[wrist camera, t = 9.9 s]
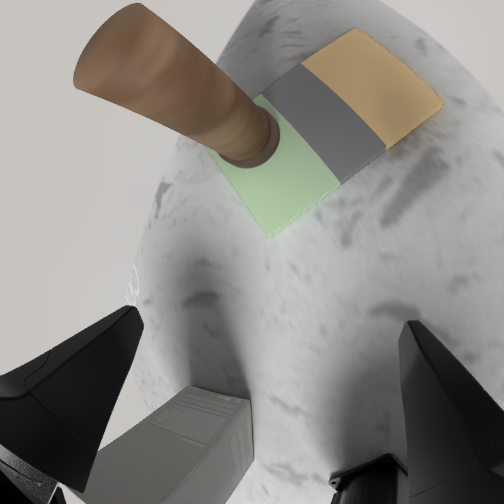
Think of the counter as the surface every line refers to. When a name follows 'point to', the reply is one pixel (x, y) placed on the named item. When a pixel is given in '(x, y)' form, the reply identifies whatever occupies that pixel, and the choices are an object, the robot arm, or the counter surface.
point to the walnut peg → (174, 86)
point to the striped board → (329, 126)
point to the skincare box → (176, 454)
